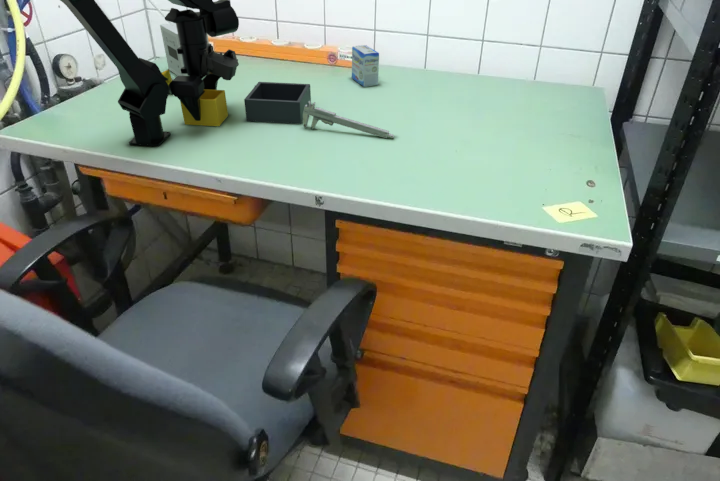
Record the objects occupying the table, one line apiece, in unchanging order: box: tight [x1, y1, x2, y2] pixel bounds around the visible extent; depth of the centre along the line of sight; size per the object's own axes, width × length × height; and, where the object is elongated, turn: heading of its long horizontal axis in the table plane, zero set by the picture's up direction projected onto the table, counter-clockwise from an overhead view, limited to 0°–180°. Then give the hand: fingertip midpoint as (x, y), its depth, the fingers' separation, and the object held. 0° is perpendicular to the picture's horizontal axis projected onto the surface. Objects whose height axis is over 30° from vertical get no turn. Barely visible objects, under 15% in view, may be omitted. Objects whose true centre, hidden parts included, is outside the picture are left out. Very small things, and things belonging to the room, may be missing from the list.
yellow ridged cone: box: [161, 69, 174, 94], centre depth 133 cm, size 5×5×10 cm
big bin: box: [243, 81, 312, 125], centre depth 123 cm, size 12×13×5 cm
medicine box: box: [351, 44, 380, 88], centre depth 141 cm, size 8×4×9 cm, turn 25°
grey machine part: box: [159, 22, 210, 77], centre depth 145 cm, size 12×14×15 cm
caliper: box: [302, 100, 395, 139], centre depth 114 cm, size 20×1×6 cm, turn 75°
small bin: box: [179, 89, 229, 127], centre depth 119 cm, size 6×8×6 cm
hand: (205, 112), depth 120 cm, fingers open, 9 cm apart
